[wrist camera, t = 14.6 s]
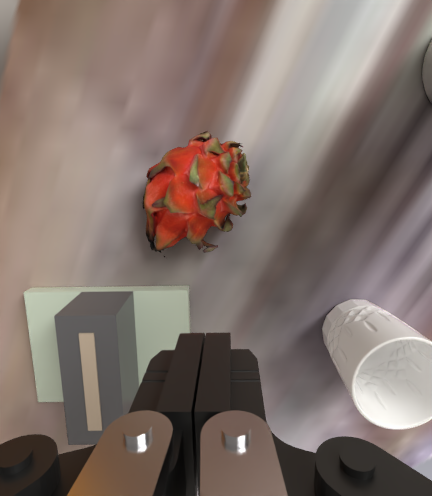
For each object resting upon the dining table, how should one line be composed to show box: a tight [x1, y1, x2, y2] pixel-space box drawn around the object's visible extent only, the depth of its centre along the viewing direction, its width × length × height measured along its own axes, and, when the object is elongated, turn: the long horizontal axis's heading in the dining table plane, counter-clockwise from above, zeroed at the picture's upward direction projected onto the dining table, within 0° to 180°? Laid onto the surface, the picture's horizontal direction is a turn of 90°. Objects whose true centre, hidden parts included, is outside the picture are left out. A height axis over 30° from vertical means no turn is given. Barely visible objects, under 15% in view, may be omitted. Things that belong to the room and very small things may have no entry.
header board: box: [24, 285, 191, 402], centre depth 35 cm, size 16×12×4 cm
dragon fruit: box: [143, 131, 251, 257], centre depth 31 cm, size 8×8×12 cm
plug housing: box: [54, 291, 139, 445], centre depth 33 cm, size 5×12×6 cm, turn 1°
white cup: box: [322, 299, 432, 430], centre depth 32 cm, size 8×8×10 cm
